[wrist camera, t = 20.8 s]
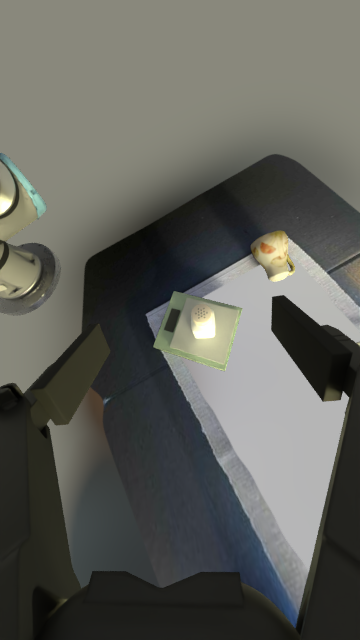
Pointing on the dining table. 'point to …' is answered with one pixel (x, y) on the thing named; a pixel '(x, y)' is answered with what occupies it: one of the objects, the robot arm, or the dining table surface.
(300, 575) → the dining table surface
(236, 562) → the dining table surface
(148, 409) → the dining table surface
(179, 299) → the scale
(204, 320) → the pepper shaker
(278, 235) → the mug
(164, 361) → the dining table surface
